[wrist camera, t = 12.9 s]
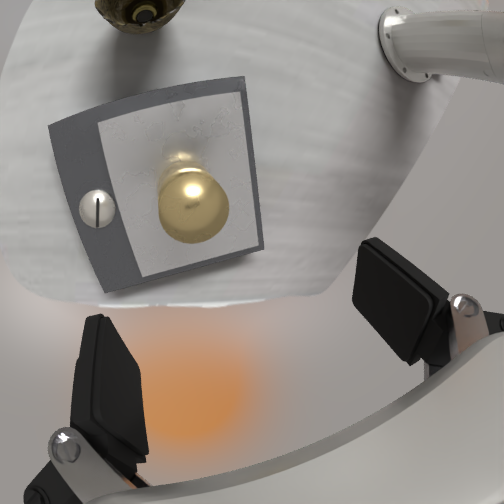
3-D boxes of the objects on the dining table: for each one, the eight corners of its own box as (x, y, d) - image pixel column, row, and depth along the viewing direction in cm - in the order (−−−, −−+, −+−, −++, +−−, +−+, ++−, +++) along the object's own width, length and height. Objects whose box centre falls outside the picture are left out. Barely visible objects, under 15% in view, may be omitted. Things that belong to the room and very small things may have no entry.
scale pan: (236, 92, 21) (240, 91, 21) (255, 241, 29) (258, 245, 28) (99, 122, 19) (97, 122, 18) (142, 271, 27) (142, 277, 26)
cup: (163, 55, 21) (166, 34, 14) (96, 41, 18) (77, 18, 11) (193, -2, 18) (208, -36, 12) (128, -17, 15) (123, -52, 8)
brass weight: (207, 155, 22) (223, 168, 18) (216, 206, 25) (233, 233, 20) (151, 168, 21) (150, 186, 16) (164, 219, 24) (168, 251, 19)
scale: (232, 80, 24) (246, 75, 21) (252, 234, 34) (265, 251, 30) (61, 123, 20) (45, 126, 17) (108, 273, 30) (104, 296, 26)
